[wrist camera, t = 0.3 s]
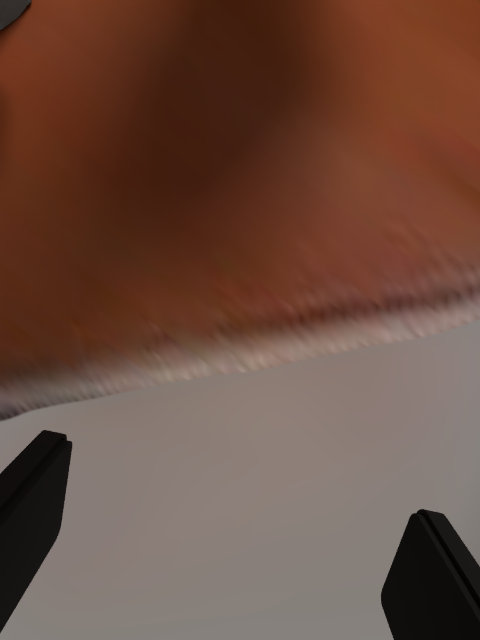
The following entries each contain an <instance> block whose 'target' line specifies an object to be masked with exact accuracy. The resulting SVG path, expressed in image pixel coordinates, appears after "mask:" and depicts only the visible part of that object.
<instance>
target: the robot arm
mask: <svg viewBox="0 0 480 640" xmlns="http://www.w3.org/2000/svg"><path fill="white" fill-rule="evenodd" d="M71 451H72V442H71V441H67V437H66V435H65V434H61V433H57V432H52V431H47V430H43V431H42V432H41V433H40V434H39V435H38V436H37V437H36V438H35V439H34V440H33V441H32V442H31V443H30V444H29V445H28V446H27V447H26V448H25V449H24V450H23V451H22V452H21V453H20V454H19V455H18V456H17V457H16V458H15V459H14V460H13V461H12V462H11V463H10V464H9V465H8V466H7V467H6V468H5V469H4V471H2V473H1V474H0V633H1V631H2V629H3V627H4V626H5V624H6V623H7V621H8V619H9V618H10V616H11V614H12V613H13V611H14V609H15V608H16V606H17V604H18V602H19V601H20V599H21V598H22V596H23V594H24V593H25V591H26V589H27V588H28V586H29V584H30V583H31V581H32V579H33V578H34V576H35V574H36V572H37V571H38V569H39V568H40V566H41V564H42V562H43V561H44V559H45V557H46V556H47V554H48V552H49V551H50V549H51V547H52V546H53V544H54V542H55V541H56V539H57V536H58V533H59V531H60V527H61V522H62V514H63V508H64V501H65V493H66V486H67V479H68V472H69V465H70V458H71ZM381 603H382V607H383V610H384V613H385V616H386V619H387V621H388V624H389V627H390V630H391V633H392V635H393V638H394V640H480V567H479V565H478V564H477V562H476V561H475V559H474V558H473V556H472V555H471V553H470V552H469V550H468V549H467V547H466V546H465V544H464V543H463V542H462V540H461V538H460V537H459V535H458V534H457V532H456V531H455V530H454V528H453V527H452V525H451V524H450V522H449V521H448V519H447V518H446V516H445V515H444V514H442V513H438V512H433V511H428V510H424V509H421V510H419V511H417V513H414V514H412V515H411V516H410V518H409V521H408V524H407V526H406V529H405V532H404V534H403V537H402V539H401V542H400V544H399V547H398V550H397V552H396V555H395V557H394V560H393V563H392V565H391V568H390V570H389V573H388V576H387V578H386V581H385V583H384V586H383V589H382V592H381Z"/></svg>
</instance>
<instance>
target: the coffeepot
mask: <svg viewBox="0 0 480 640" xmlns="http://www.w3.org/2000/svg"><path fill="white" fill-rule="evenodd" d="M30 2H31V0H0V30H2V29H3V28H4V27H6V26H7V25H9V24H10V23H11V22H13V21H14V20H15V19H17V18H18V17H19V16H20V15H21V13H22V12H23V11H24V10H25V8H26V6H27V5H28V4H29V3H30Z"/></svg>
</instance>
